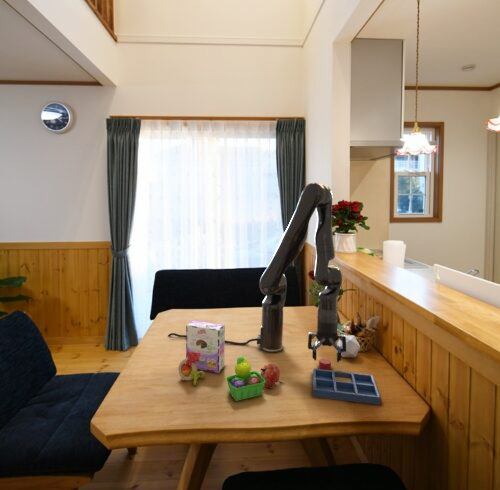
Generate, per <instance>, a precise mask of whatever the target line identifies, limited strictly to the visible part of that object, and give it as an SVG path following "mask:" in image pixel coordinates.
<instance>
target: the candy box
mask: <svg viewBox="0 0 500 490" xmlns="http://www.w3.org/2000/svg"><path fill="white" fill-rule="evenodd" d="M185 329H186V330H185V333H186V334H185V335H186V337H185V339H186V340H185V351H186V352H187V351H188V352H195V353H201V354H200V356H199V362H196V361H195V363H196V366H197V370H199V371H206V372H211V373H215V374H220V372H221V371H222V370H223V369H224V367H225V344H226V343H225V341H226V340H225V339H226V338H225V337H226V336H225V335H226V334H225V333H226V332H225V331H226V326H225V324H222V323H221V324H219V323H213V322H207V321H200V320H192V321H191V322H189V323H188V324H186V325H185ZM186 352H185V359H187V358H188V356H187V354H186Z"/></svg>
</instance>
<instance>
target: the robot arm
mask: <svg viewBox="0 0 500 490" xmlns="http://www.w3.org/2000/svg"><path fill="white" fill-rule="evenodd" d="M315 211H316V217H317V218H316V227H315V233H314V248H315V255H316V256H315V257H316V258H315V265H314V273H313V274H314V275H313V276H314V280H315V282H316V283H317V285H318V286H319V287H322V288H324V289H323V290H321V291H320V292H319V293H318V303H317V315H316V319H317V323H316V332H312V331H309V332H308V340H307V349H308V350H312V359H313V360H314V361H317V350H318V348H320V346H323V347H326V346H328V347H334V349H335V350H336V362H337V363H340V362H341V361H342V355H341V353H342V352H346V337H345V335H346V334H345V333H342V334H338V320H339V313H338V297H339V294H340V290H341V287H342V283H343V274H342V271H341V269H340V268H339V267H338V266H334V265H332V266H329V264H330V261H333V260H334V259H335V258H336V251H335V244H334V237H333V235H334V234H333V193H332V189H331V188H330V186H329V185H326V184H324V183H320V182H310V183H308V184H306V186H305V187H304V188H303V189H302V192H301V195H300V196H299V200H298V202H297V205H296V208H295V211H294V212H293V215H292V217H291V219H290V221H289V224H288V226H287V228H286V230H285V231H284V233H283V235H282V237H281V239H280V241H279V243H278V245H277V248H276V249H275V252H274V254H273V257H272V259H271V260H270V262H269V264H268V265H267V267H266V269H265V270H264V272H263V274H262V275H261V277H260V279H259V282H258V283H259V284H258V285H259V289H260V291H261V293H262V294H263V295H265V297H264V299H263V300H262V302H261V326H260V332H259V334H257V337H256V338H251V339H248V340H247V341H245V342H237V341H230V340H225V344H230V345H235V346H236V345H237V346H245V345H248V344H249V343H252V342H256V345H259V350H261V351H264V352H267V353H278V352H281V351H282V350H283V340H284V339H283V336H284V306H285V303H286V298H287V286H288V285H287V278H286V276H285V273H286V271H287V269H288V268H289V267H290V265H292V264H293V262H294V261H295V260H296V259H297V257H298V256H299V255H300V253H301V252H302V250H303V248H304V247H305V244H306V242H307V240H308V236H309V226H310V221H311V218H312V216H313V215H314V212H315ZM172 336H175V337H178V338H186V334H179V333H176V332H172V333H169V334H168V335H167V337H169V338H170V337H172ZM315 337H316V341H315V342H314V344H312V342H313V340H314V339H315ZM339 339H340V340H341V341H342V347H339V345H338V341H339Z"/></svg>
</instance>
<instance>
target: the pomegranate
mask: <svg viewBox="0 0 500 490" xmlns="http://www.w3.org/2000/svg"><path fill="white" fill-rule="evenodd" d="M259 374H260V375H261V376H262V378H263V379H264V380H265V384H264V386H265V387H266V388H271V389H272V388H274V387H276V383H280V384H282V382H281V381H280V377H281V369H280V367H279V366H278V365H277V364H275V363H268V364H266V365H264V366H263V368H260V373H259Z"/></svg>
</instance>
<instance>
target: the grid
mask: <svg viewBox="0 0 500 490" xmlns="http://www.w3.org/2000/svg"><path fill="white" fill-rule="evenodd" d="M312 384H313V385H312V387H313V389H312V391H313V393H312V394H313V395H312V396H313V397H314V398H322V399H330V400H338V401H347V402H355V403H363V404H372V405H381V396H380V393H379V390H378V386H377V384H376V380H375V378H374V376H373V374H367V373H359V372H348V371H341V370H340V371H339V370H331V369H330V370H322V369H319V368H313V369H312Z"/></svg>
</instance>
